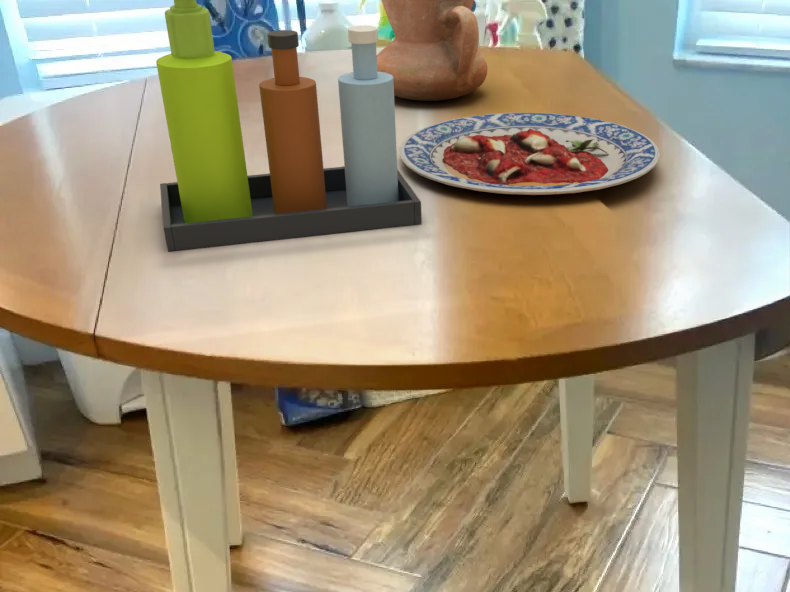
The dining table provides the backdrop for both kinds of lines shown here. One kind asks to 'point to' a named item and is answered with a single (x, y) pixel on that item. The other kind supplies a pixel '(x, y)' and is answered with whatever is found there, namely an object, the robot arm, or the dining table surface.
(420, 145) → the ceramic plate
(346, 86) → the pale blue bottle
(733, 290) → the dining table surface
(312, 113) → the amber bottle
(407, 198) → the tray
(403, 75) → the ceramic jug
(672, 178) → the dining table surface
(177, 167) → the soap dispenser
